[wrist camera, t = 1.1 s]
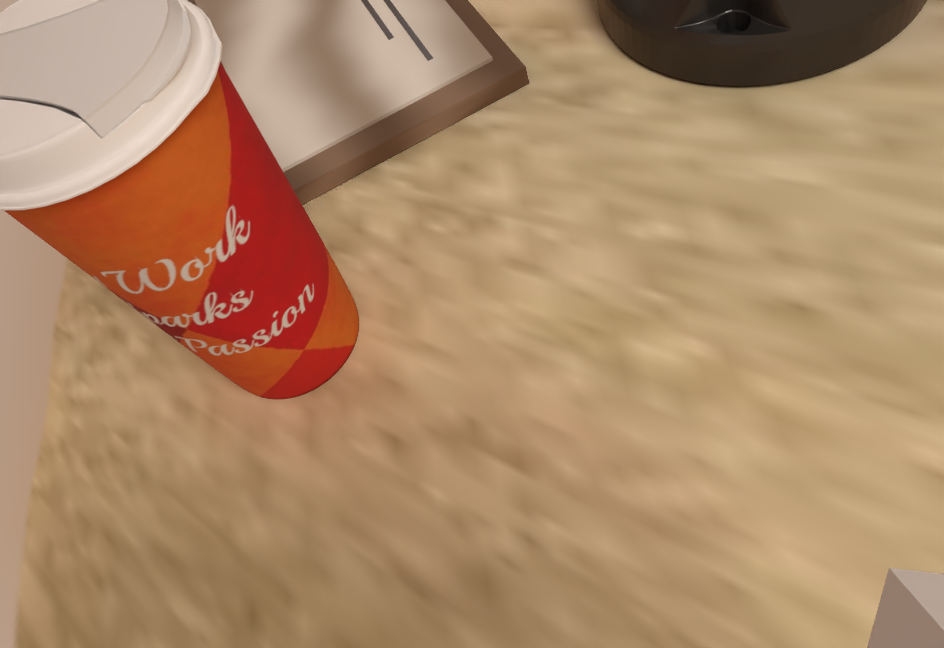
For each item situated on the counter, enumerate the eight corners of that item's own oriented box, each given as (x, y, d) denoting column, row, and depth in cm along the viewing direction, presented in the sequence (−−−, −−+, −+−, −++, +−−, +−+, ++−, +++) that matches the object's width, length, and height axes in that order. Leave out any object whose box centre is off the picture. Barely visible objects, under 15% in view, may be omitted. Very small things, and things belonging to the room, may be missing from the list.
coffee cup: (181, 426, 32) (-152, 186, 19) (234, 263, 36) (-13, -22, 23) (370, 426, 29) (131, 154, 17) (403, 252, 33) (229, -69, 21)
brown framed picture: (374, -99, 49) (363, -129, 48) (529, 83, 37) (521, 51, 35) (181, 1, 49) (163, -25, 47) (272, 220, 36) (253, 194, 35)
